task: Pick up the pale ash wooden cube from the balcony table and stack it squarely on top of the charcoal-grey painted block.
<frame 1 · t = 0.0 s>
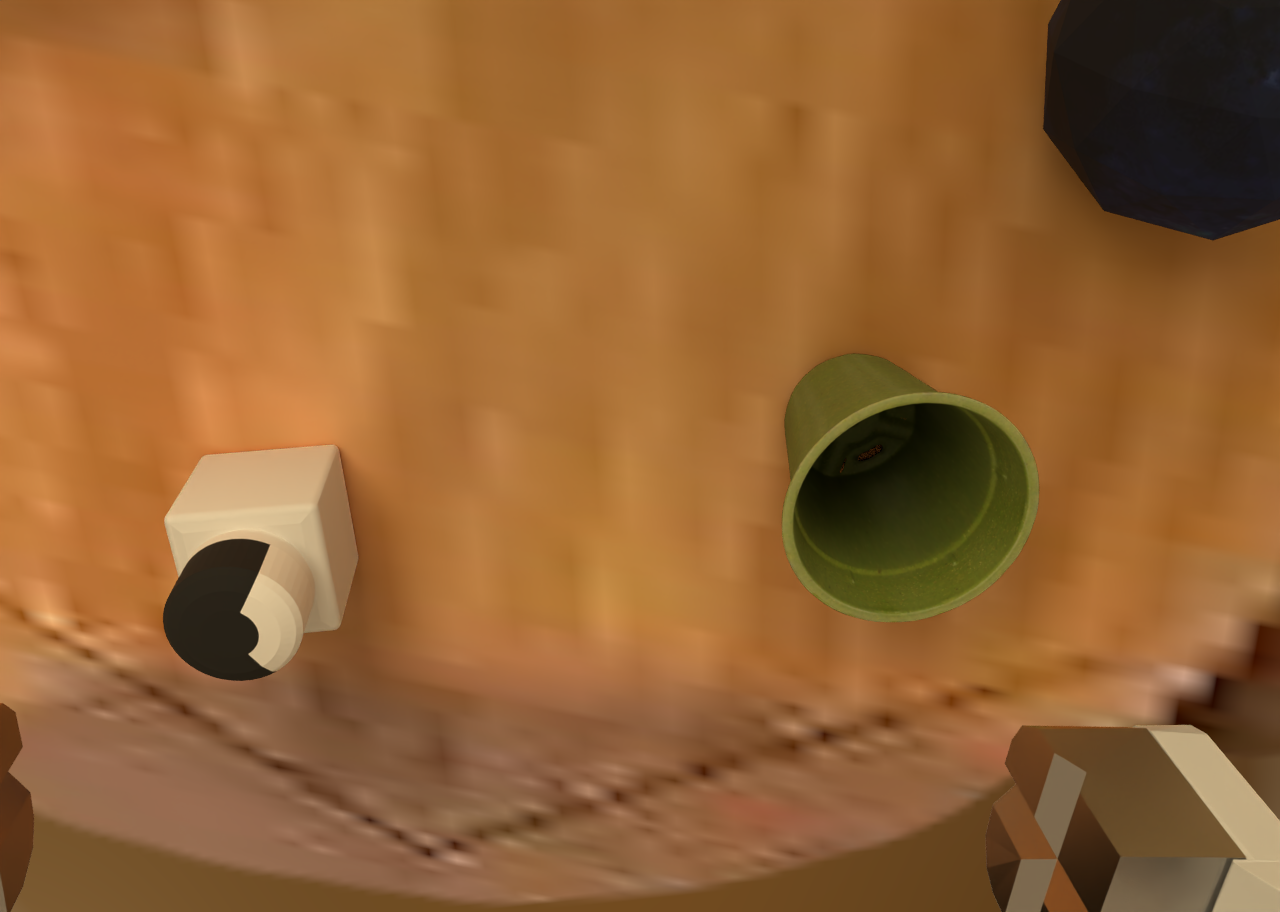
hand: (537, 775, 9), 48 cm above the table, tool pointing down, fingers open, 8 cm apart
decorative orb: (1141, 44, 55), on the table
plant pot: (848, 415, 62), on the table
medicine bottle: (283, 505, 61), on the table
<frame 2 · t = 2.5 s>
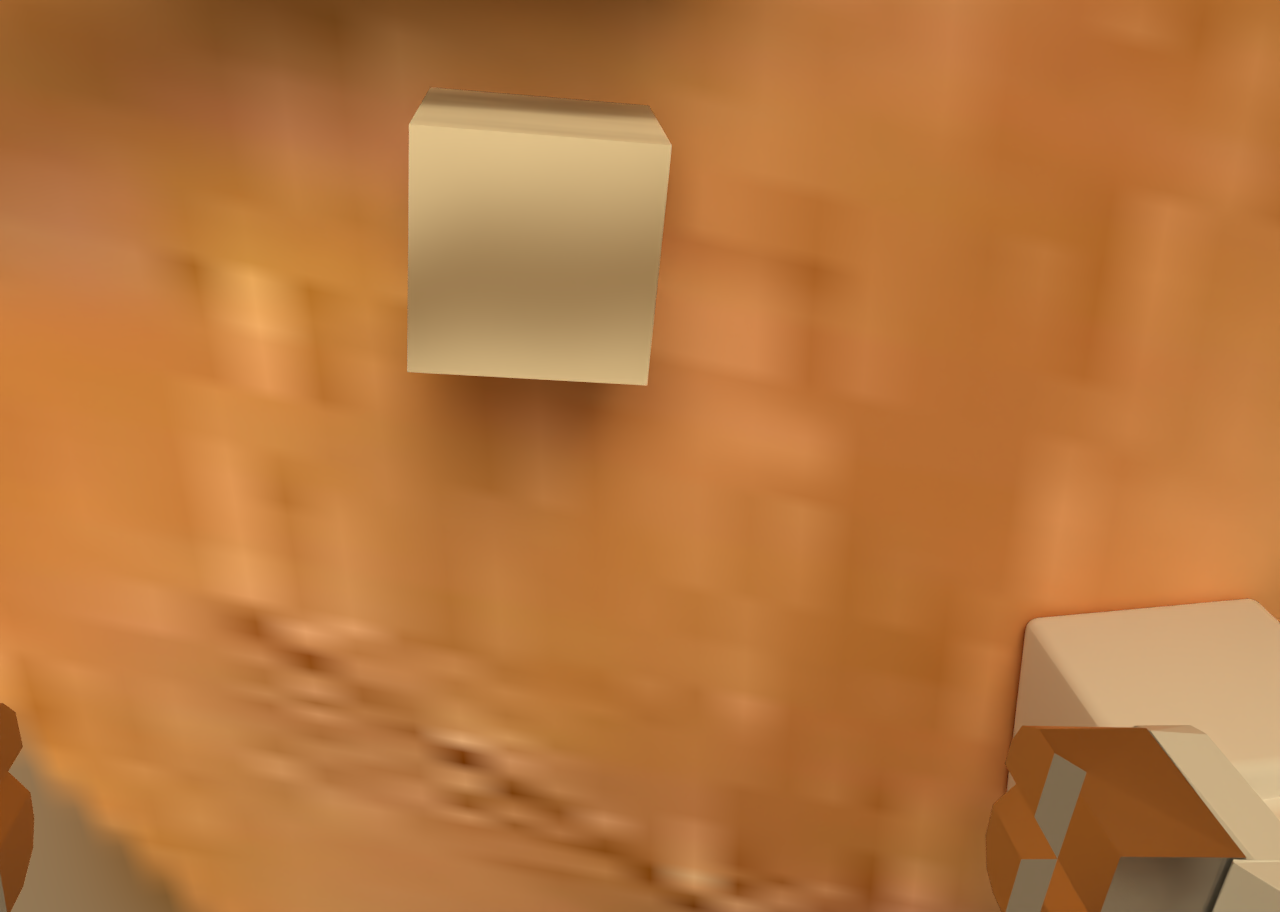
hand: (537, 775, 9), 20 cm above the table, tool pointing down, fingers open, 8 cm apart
medicine bottle: (1121, 696, 36), on the table
ash cube: (534, 204, 27), on the table
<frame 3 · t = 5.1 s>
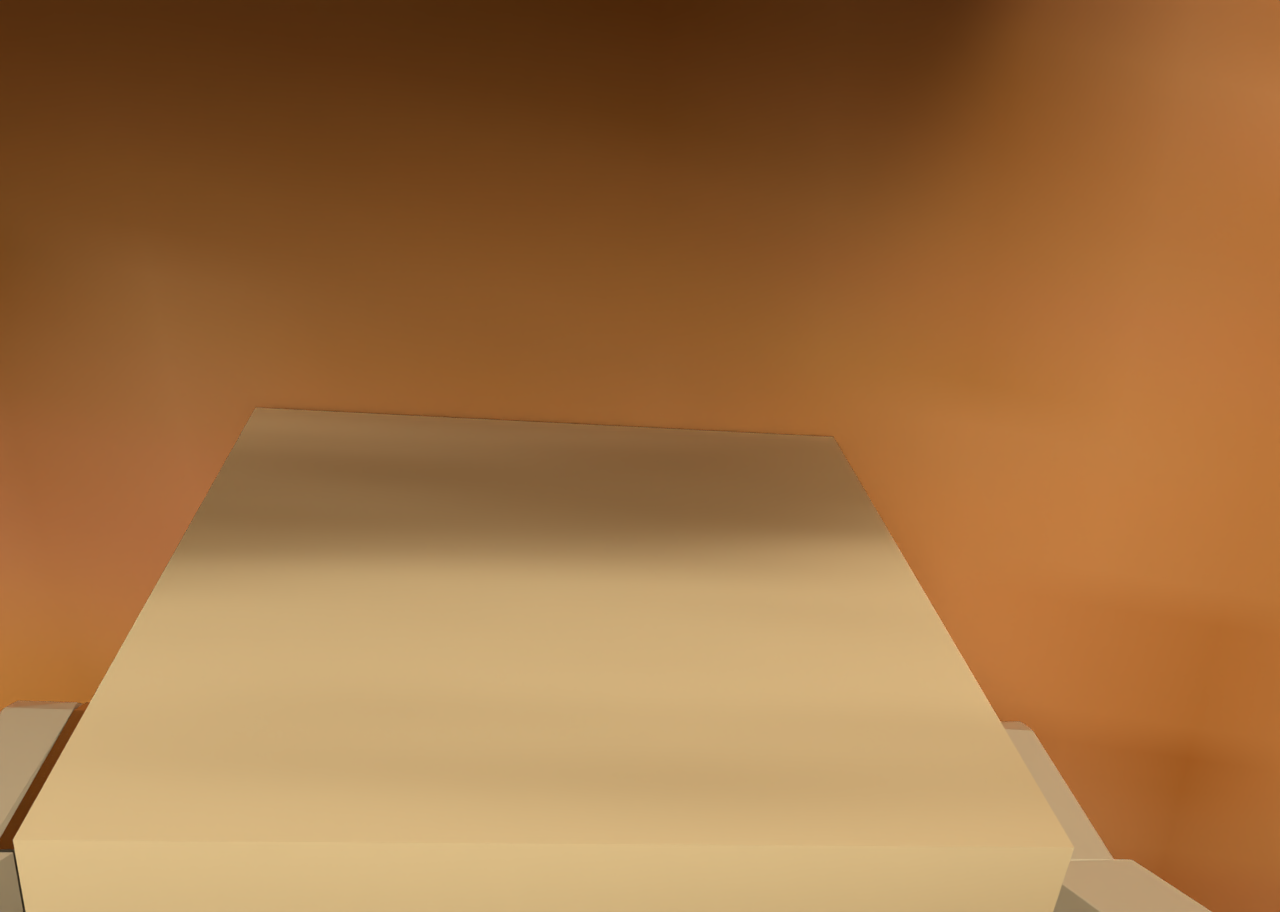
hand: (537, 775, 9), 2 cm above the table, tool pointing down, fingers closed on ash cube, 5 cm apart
ash cube: (537, 661, 11), on the table, touching gripper
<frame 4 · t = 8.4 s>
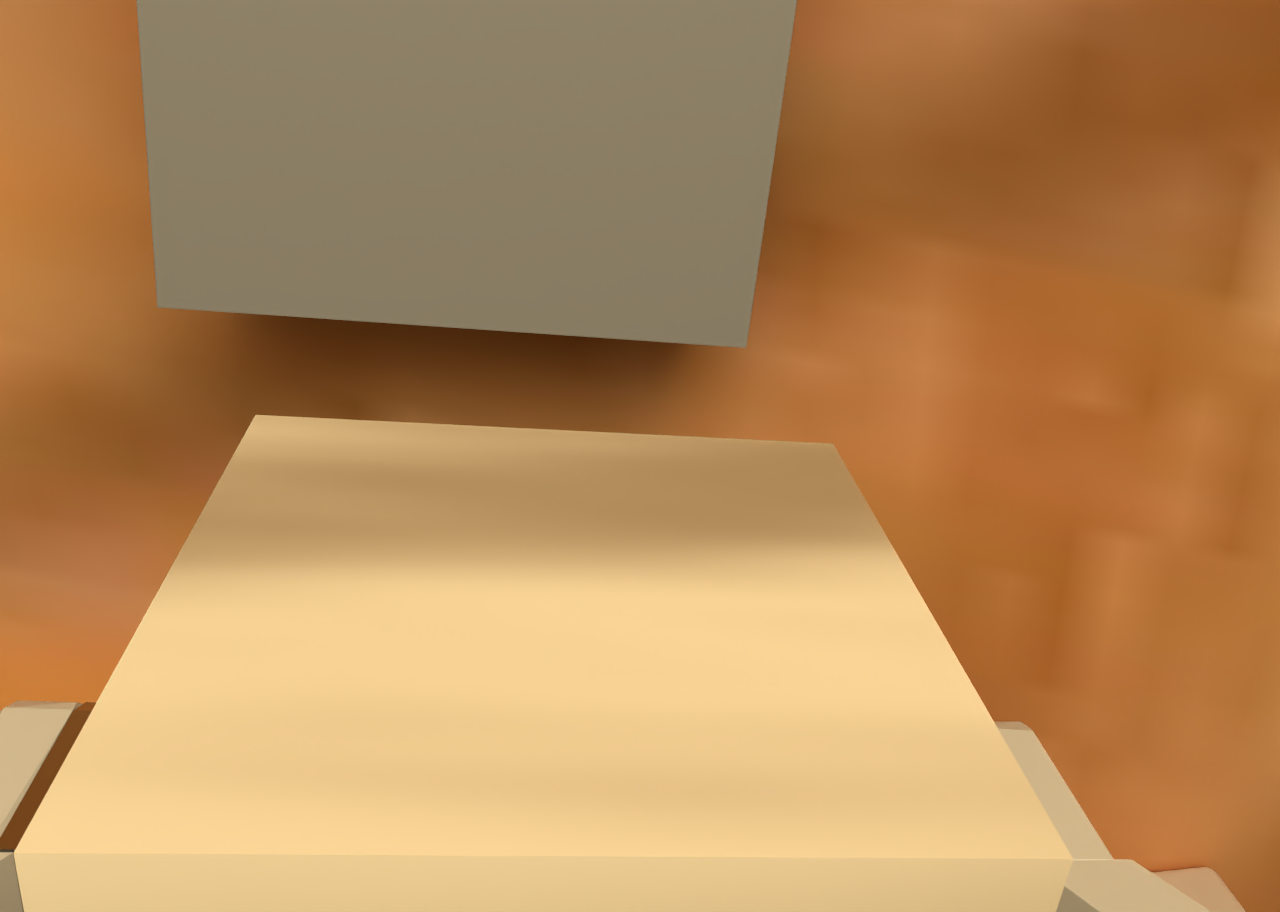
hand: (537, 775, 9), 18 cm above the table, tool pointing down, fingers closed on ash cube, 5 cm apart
grey block: (483, 4, 24), on the table
ash cube: (536, 667, 11), point 17 cm above the table, touching gripper
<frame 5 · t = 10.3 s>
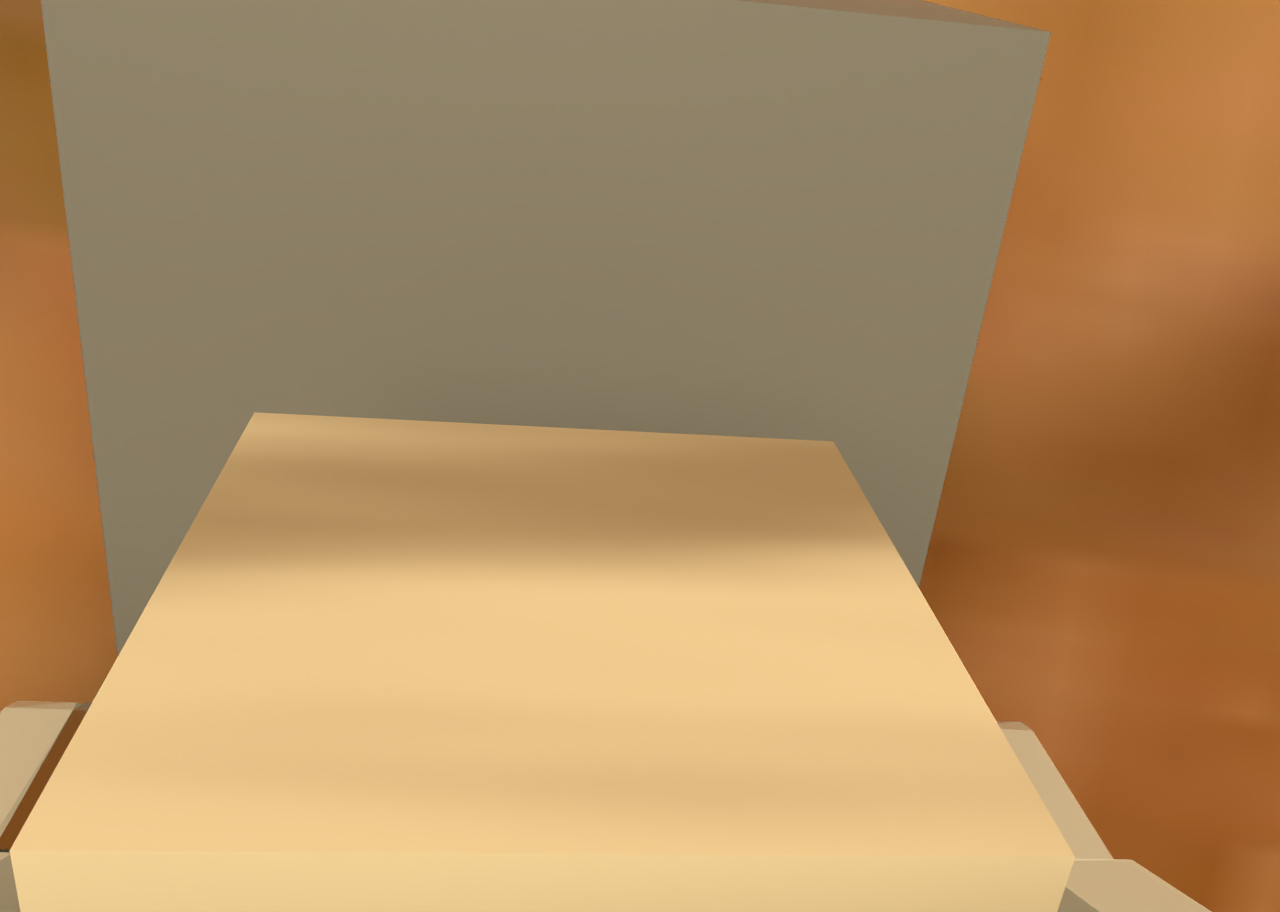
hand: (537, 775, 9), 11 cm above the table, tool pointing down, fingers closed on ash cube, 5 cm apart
grey block: (536, 316, 19), on the table
ash cube: (536, 666, 11), point 9 cm above the table, touching gripper
when the fingers open (8 cm above the table, at t = 11.7 s): ash cube drops 1 cm, resting on grey block.
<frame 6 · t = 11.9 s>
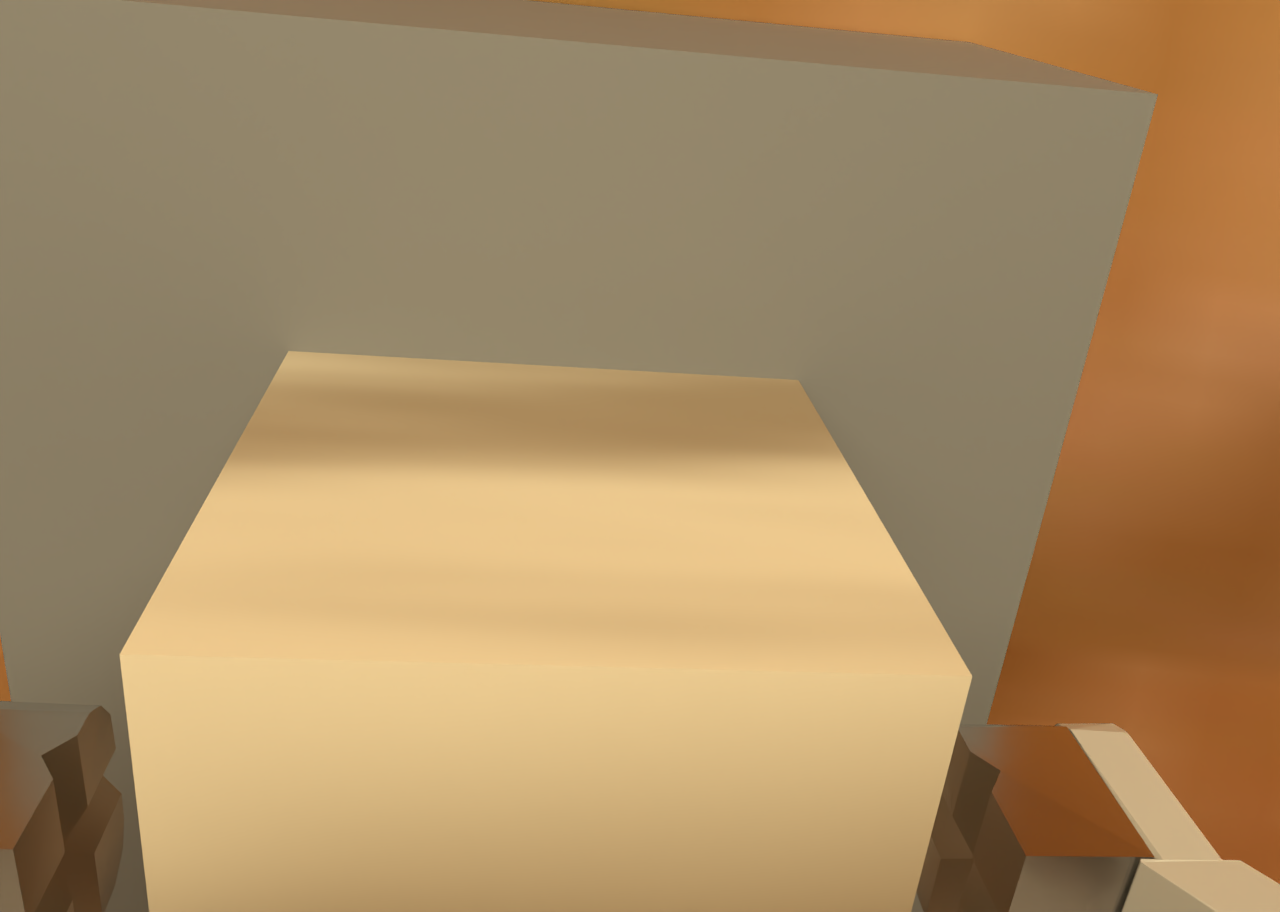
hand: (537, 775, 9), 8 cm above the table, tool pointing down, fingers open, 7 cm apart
grey block: (531, 404, 17), on the table
ash cube: (536, 584, 12), point 5 cm above the table, touching grey block
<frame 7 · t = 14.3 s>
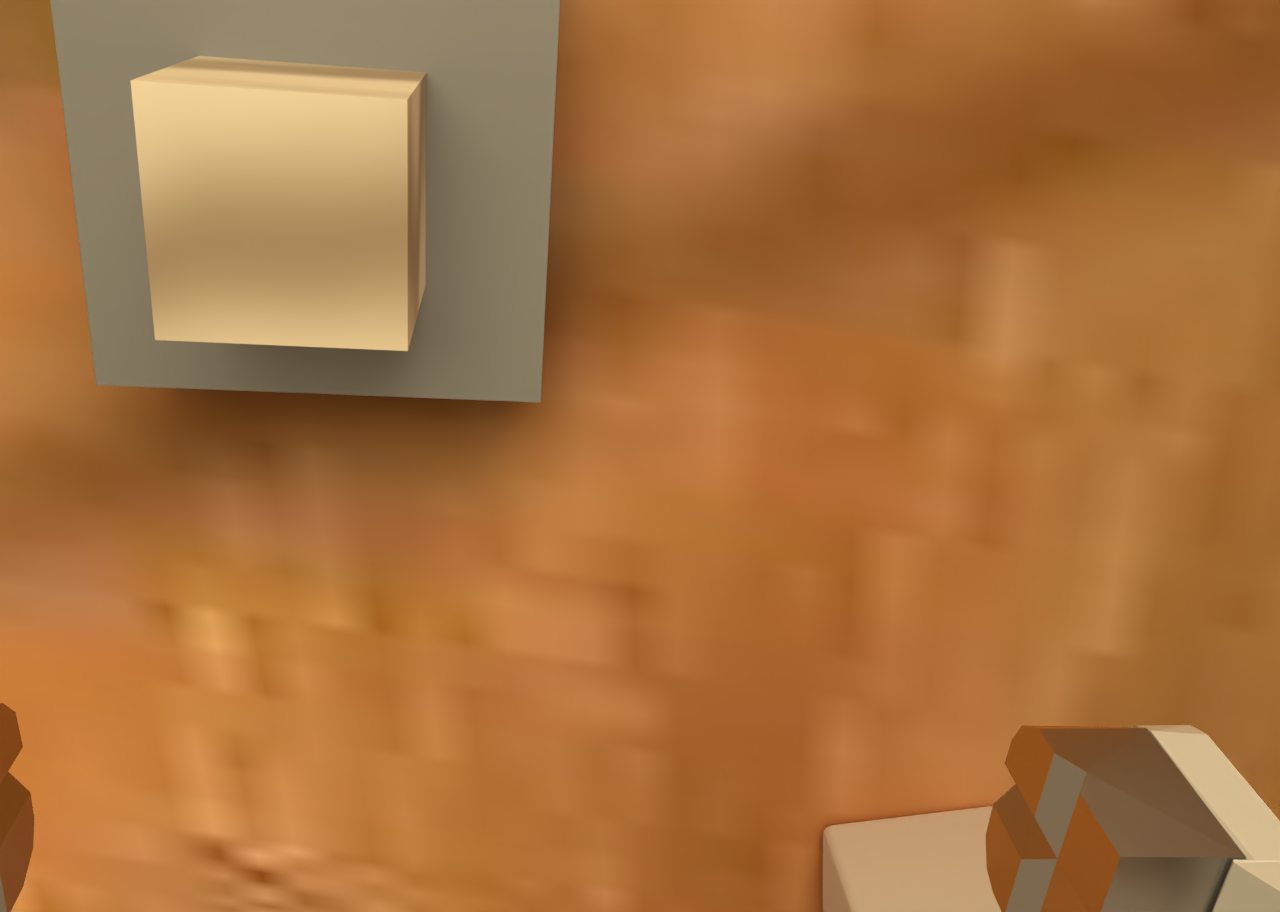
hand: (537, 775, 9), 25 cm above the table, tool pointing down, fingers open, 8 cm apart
medicine bottle: (908, 877, 45), on the table
grey block: (345, 141, 31), on the table
ash cube: (318, 176, 27), point 5 cm above the table, touching grey block
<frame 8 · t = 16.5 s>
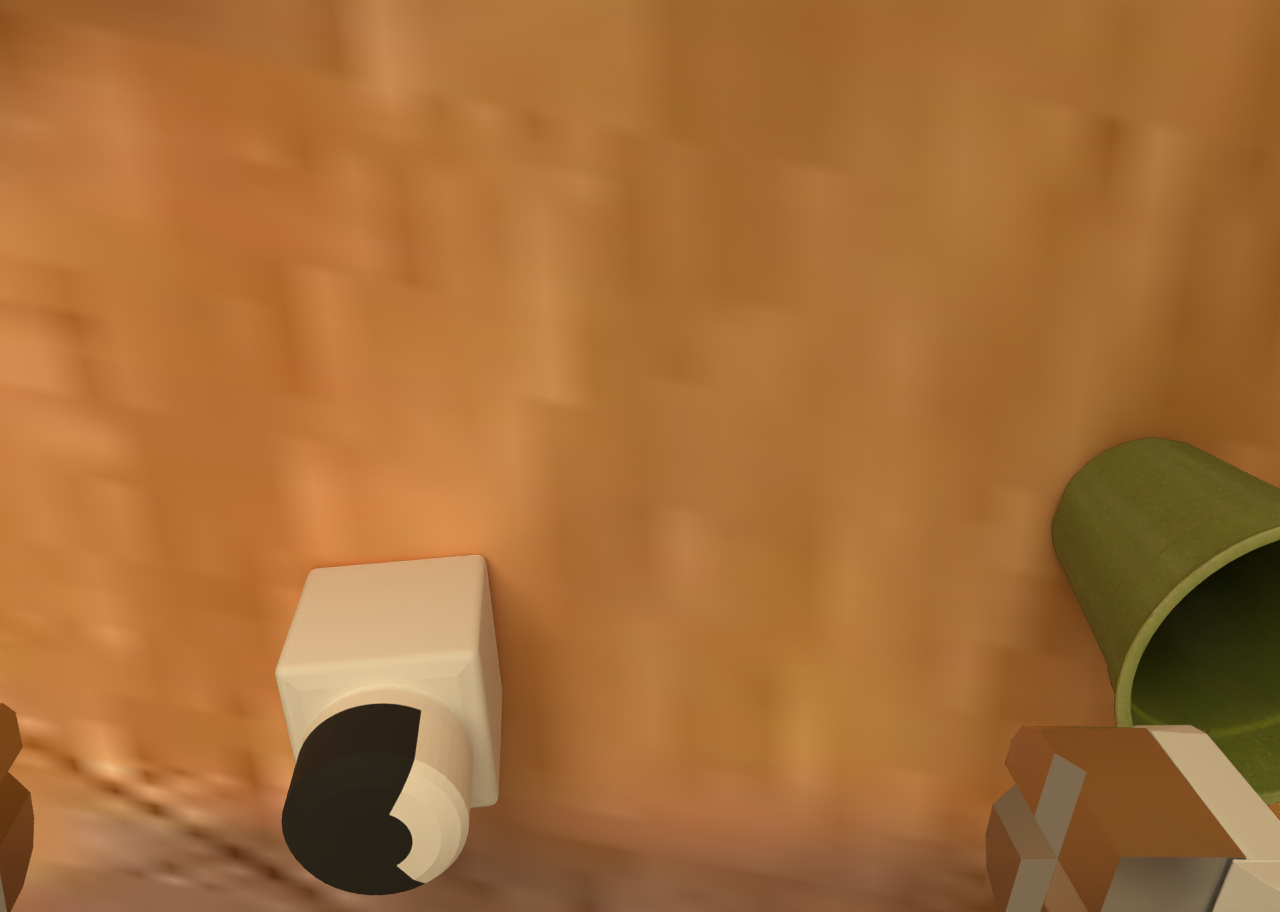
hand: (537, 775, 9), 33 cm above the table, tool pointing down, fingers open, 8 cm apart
plant pot: (1129, 512, 48), on the table
medicine bottle: (409, 629, 48), on the table
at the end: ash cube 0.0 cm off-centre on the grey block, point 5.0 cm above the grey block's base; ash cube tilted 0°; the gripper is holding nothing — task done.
